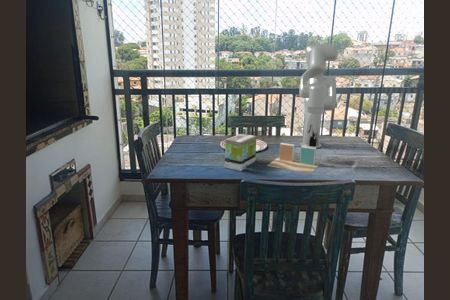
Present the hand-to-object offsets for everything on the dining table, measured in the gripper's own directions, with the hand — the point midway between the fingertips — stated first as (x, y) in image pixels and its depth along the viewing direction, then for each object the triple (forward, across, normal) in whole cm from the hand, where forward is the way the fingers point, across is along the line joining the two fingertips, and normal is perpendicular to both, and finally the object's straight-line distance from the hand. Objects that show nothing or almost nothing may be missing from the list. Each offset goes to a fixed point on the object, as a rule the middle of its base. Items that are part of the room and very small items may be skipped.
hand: (312, 145), depth 166 cm
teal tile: (+8, +7, 0) cm, 10 cm away
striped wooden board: (+9, +12, -6) cm, 16 cm away
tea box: (+9, +23, -30) cm, 39 cm away
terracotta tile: (+8, +7, -11) cm, 15 cm away
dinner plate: (+9, -4, -42) cm, 43 cm away
